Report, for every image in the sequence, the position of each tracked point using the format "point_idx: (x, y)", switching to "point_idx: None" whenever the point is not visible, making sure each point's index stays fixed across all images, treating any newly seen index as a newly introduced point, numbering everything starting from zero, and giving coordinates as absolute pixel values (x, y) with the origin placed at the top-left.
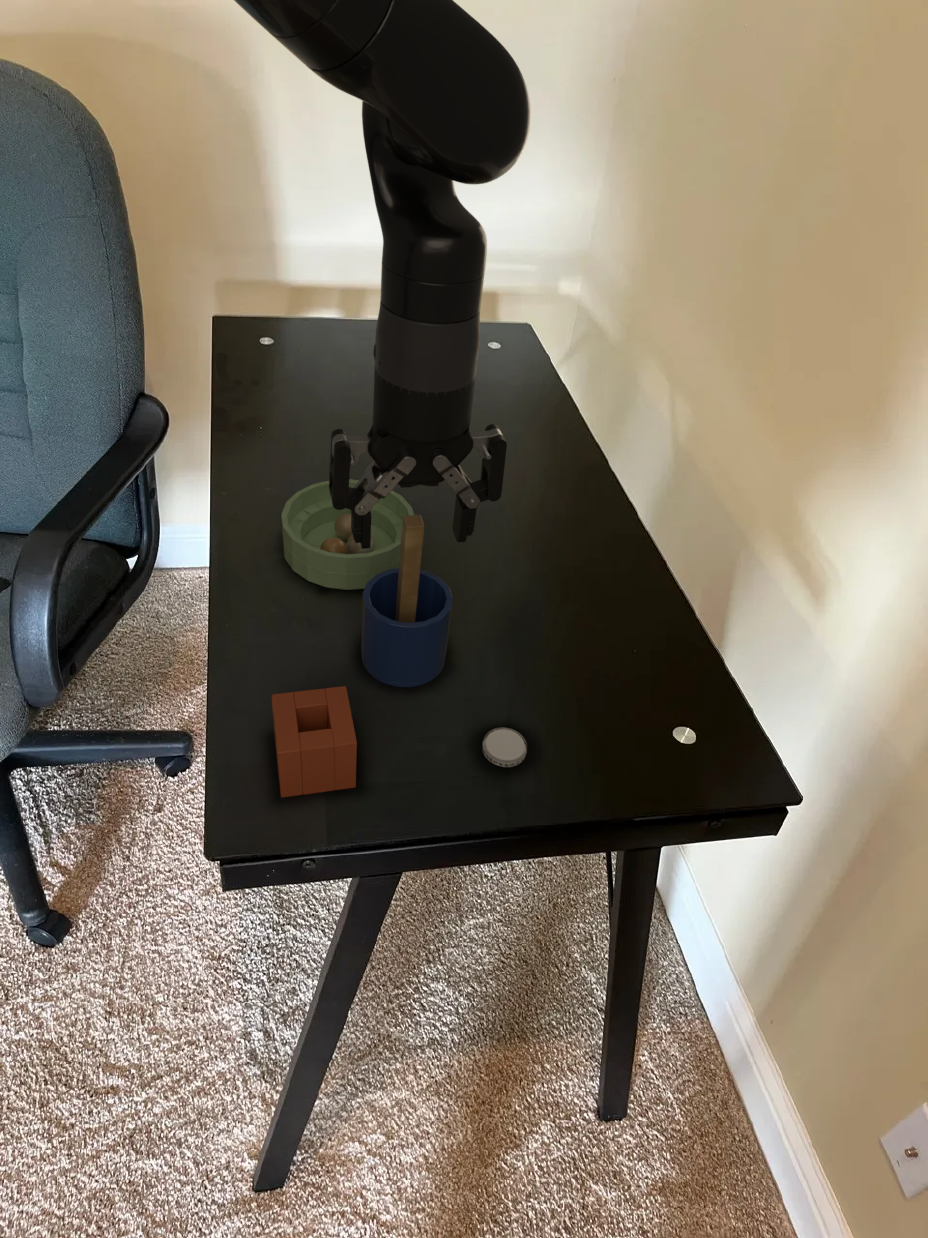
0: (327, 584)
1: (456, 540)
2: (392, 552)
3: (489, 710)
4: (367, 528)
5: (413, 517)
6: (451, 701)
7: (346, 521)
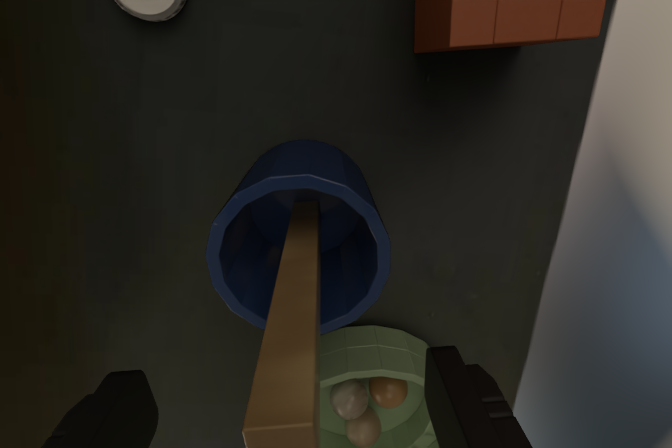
0: (401, 333)
1: (146, 378)
2: None
3: (174, 77)
4: (471, 416)
5: None
6: (237, 104)
7: (367, 434)
